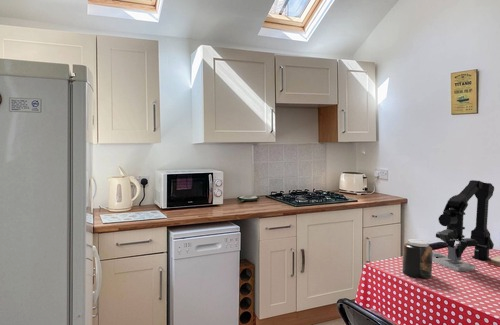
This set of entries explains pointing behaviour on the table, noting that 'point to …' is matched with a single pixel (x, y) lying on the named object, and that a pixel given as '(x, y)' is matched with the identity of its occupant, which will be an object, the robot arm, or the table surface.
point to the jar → (417, 259)
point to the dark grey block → (453, 253)
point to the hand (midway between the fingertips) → (454, 256)
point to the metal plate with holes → (451, 263)
